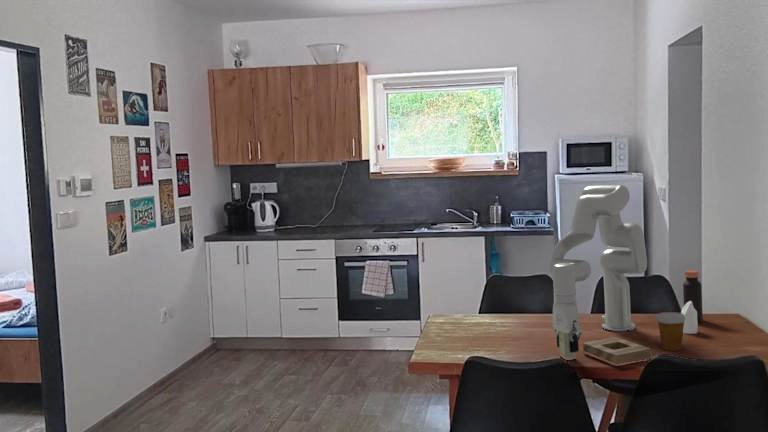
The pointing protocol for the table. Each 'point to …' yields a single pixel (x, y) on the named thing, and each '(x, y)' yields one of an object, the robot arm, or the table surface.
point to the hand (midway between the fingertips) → (567, 348)
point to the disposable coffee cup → (671, 330)
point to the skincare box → (565, 344)
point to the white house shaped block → (689, 318)
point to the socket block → (617, 350)
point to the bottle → (693, 292)
